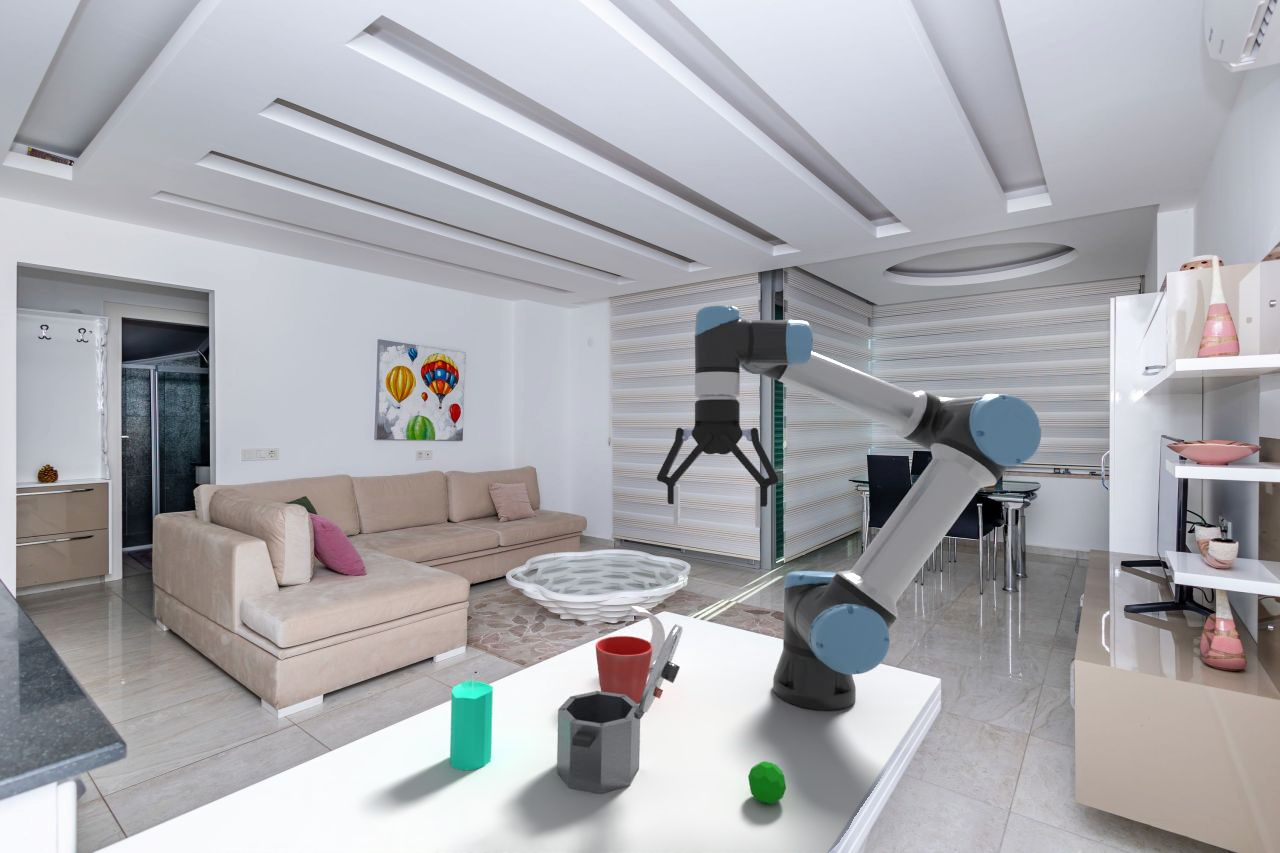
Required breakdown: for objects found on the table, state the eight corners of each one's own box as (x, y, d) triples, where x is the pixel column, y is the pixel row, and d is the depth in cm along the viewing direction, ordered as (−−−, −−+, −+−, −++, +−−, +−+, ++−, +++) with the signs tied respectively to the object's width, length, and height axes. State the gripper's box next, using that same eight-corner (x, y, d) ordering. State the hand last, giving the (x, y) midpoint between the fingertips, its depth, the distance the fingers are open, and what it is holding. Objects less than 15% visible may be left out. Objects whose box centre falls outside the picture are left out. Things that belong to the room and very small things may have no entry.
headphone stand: (629, 662, 133) (630, 606, 133) (655, 659, 135) (656, 603, 135) (638, 670, 129) (639, 612, 129) (664, 666, 131) (665, 609, 131)
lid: (648, 691, 95) (668, 702, 94) (624, 728, 83) (647, 740, 82) (679, 612, 94) (699, 622, 93) (659, 638, 82) (682, 649, 81)
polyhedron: (793, 804, 83) (794, 768, 83) (766, 815, 81) (767, 778, 81) (766, 785, 88) (767, 751, 88) (740, 796, 85) (740, 761, 85)
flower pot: (653, 686, 121) (654, 636, 121) (649, 712, 110) (650, 656, 110) (599, 683, 122) (600, 633, 122) (589, 708, 111) (590, 653, 111)
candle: (447, 753, 94) (449, 673, 94) (487, 746, 97) (489, 668, 97) (452, 773, 89) (454, 689, 89) (494, 765, 91) (496, 683, 91)
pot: (648, 751, 96) (649, 692, 96) (618, 806, 82) (620, 737, 82) (581, 740, 99) (582, 683, 99) (541, 791, 85) (542, 725, 85)
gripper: (792, 399, 107) (792, 524, 107) (648, 400, 112) (648, 519, 112) (794, 397, 99) (793, 531, 99) (640, 398, 104) (640, 525, 104)
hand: (716, 525), depth 105 cm, fingers open, 13 cm apart
